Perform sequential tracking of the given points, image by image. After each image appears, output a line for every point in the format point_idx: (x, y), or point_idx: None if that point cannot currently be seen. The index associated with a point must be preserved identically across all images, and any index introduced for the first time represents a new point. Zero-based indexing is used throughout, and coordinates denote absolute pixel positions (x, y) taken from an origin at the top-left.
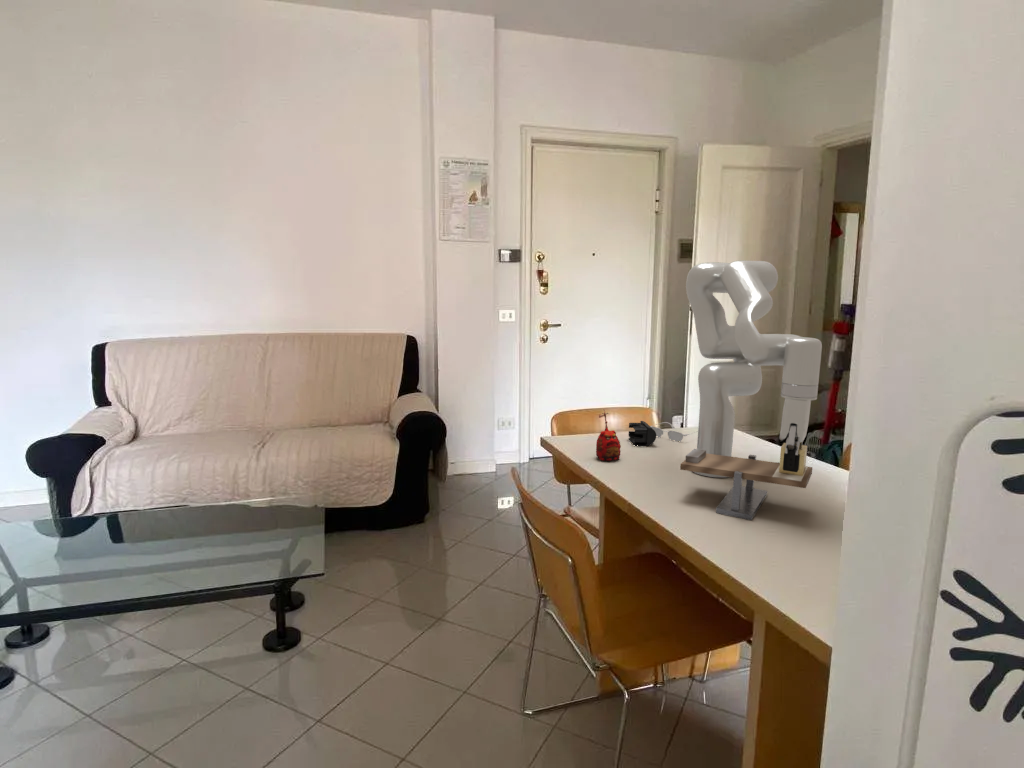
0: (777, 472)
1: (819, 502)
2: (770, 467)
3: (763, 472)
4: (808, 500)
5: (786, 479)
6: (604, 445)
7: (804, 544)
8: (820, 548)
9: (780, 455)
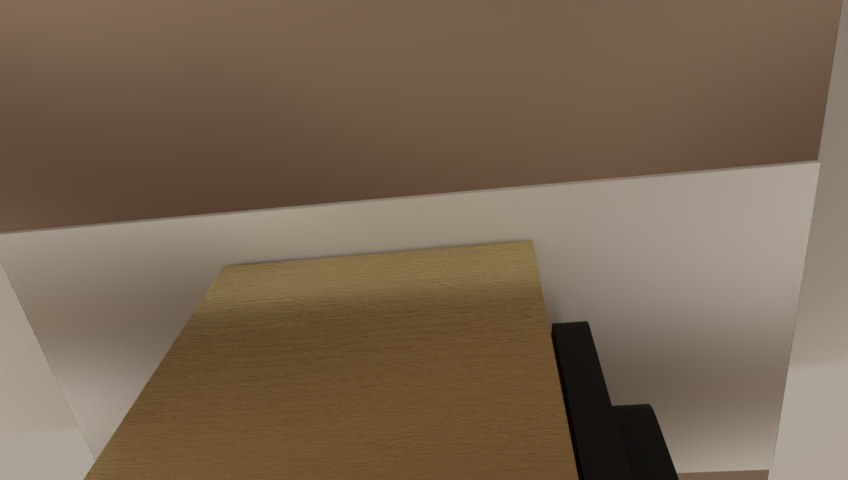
0: (225, 244)
1: (816, 281)
2: (444, 90)
3: (92, 77)
4: (828, 215)
5: (61, 371)
6: None
7: (2, 332)
8: (28, 392)
9: (100, 456)
